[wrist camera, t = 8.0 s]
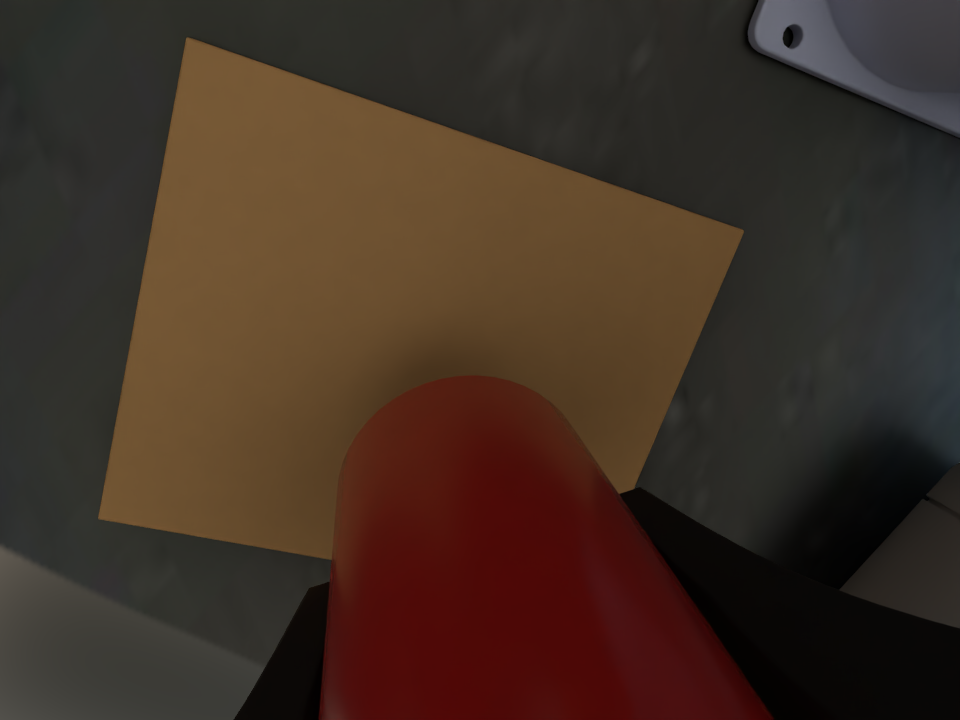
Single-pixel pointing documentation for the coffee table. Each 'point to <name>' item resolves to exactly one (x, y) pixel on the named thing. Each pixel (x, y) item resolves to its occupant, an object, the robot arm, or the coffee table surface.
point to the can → (504, 577)
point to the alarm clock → (919, 559)
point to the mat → (376, 299)
